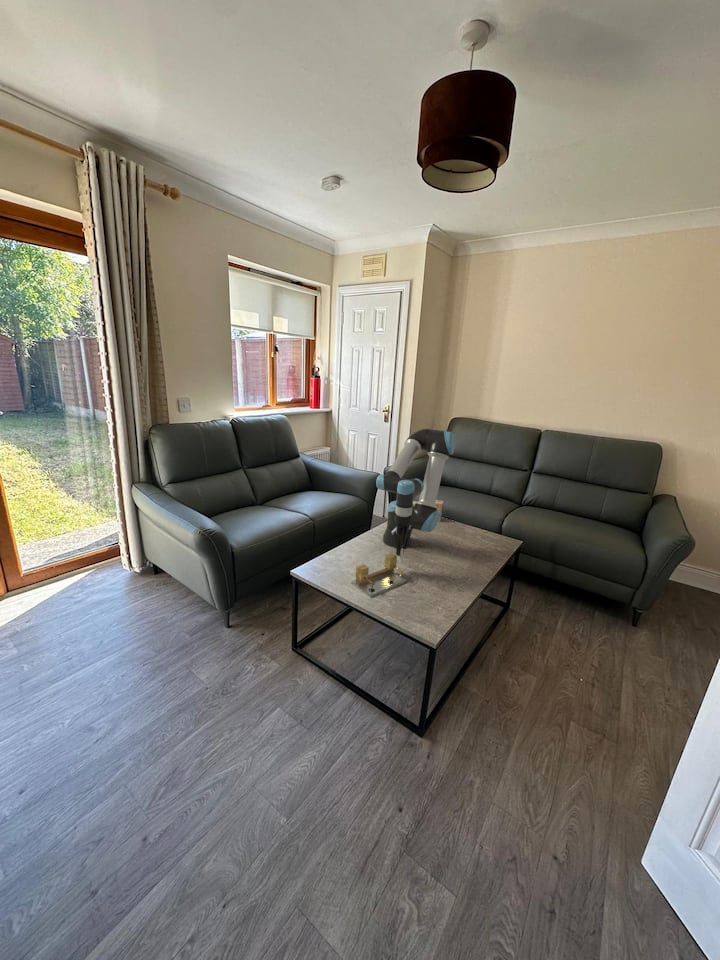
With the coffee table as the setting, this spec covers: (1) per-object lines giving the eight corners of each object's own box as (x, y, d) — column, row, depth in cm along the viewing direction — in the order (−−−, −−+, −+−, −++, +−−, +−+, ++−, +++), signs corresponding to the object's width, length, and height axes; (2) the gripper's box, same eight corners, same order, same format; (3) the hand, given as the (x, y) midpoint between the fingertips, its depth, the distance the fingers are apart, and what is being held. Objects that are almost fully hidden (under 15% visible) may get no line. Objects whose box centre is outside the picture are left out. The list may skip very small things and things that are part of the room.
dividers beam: (354, 582, 170) (355, 566, 168) (389, 569, 183) (390, 553, 181) (368, 593, 163) (369, 576, 161) (404, 578, 176) (405, 562, 173)
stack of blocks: (406, 516, 250) (408, 498, 246) (408, 513, 255) (410, 495, 252) (440, 522, 244) (442, 503, 240) (441, 518, 250) (443, 500, 246)
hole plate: (351, 583, 171) (351, 581, 171) (386, 569, 184) (386, 567, 184) (370, 597, 162) (370, 595, 162) (405, 582, 175) (405, 580, 174)
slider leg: (384, 570, 181) (385, 555, 178) (390, 567, 183) (391, 552, 181) (398, 579, 173) (400, 563, 171) (405, 576, 176) (406, 561, 174)
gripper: (399, 519, 169) (394, 568, 176) (419, 514, 177) (414, 560, 184) (387, 514, 175) (383, 561, 182) (407, 508, 183) (403, 554, 190)
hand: (399, 560), depth 183 cm, fingers closed
